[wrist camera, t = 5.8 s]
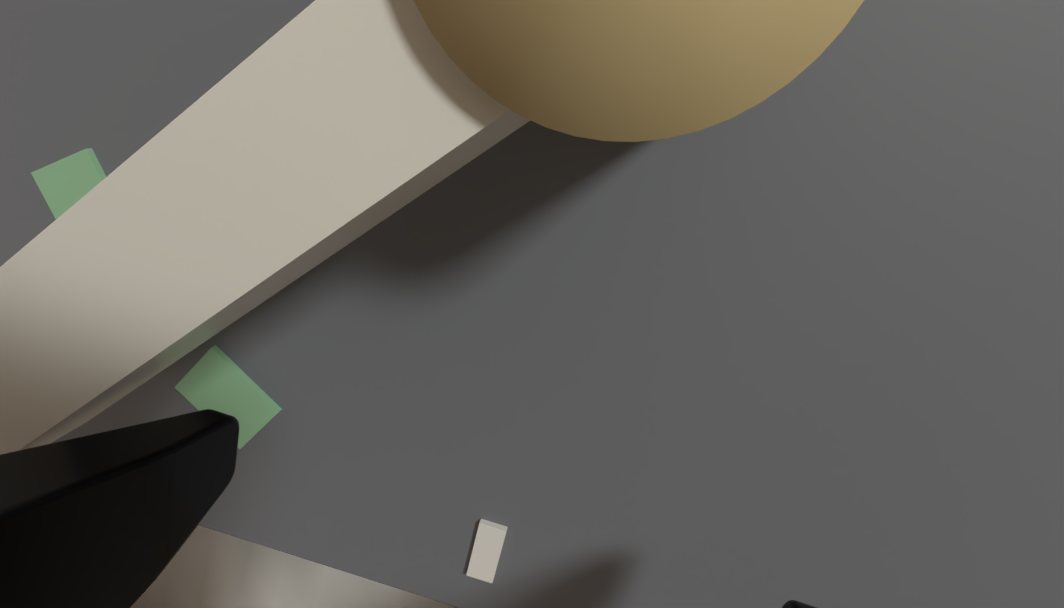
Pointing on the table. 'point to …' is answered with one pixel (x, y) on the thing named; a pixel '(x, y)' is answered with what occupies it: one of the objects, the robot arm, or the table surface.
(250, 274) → the beige and tan rod
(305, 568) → the table surface
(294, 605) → the table surface
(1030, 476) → the grey flat square plate
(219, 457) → the robot arm
